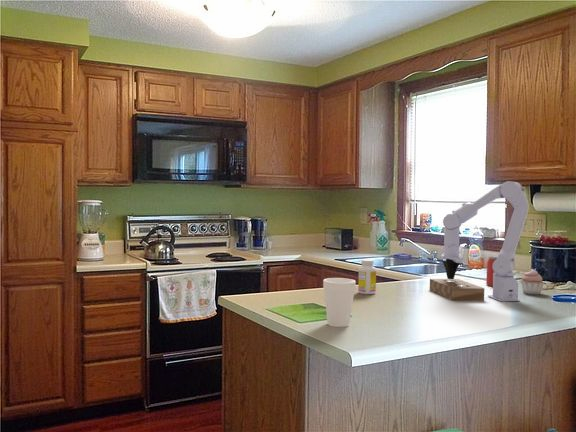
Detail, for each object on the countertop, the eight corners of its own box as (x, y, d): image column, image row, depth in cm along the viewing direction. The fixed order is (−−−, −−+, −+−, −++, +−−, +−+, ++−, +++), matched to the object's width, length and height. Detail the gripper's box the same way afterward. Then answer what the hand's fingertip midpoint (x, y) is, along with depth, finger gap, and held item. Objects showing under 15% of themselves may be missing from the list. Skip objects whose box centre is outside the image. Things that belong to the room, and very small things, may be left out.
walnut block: (484, 300, 206) (484, 288, 206) (453, 300, 204) (453, 288, 204) (457, 289, 228) (457, 278, 228) (429, 289, 226) (429, 278, 226)
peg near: (467, 297, 210) (468, 286, 210) (459, 297, 209) (459, 286, 209) (463, 295, 213) (464, 284, 213) (455, 295, 213) (455, 284, 213)
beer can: (504, 287, 237) (506, 259, 236) (489, 287, 237) (490, 258, 236) (499, 284, 243) (500, 257, 243) (484, 284, 243) (485, 256, 243)
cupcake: (521, 290, 229) (522, 266, 229) (546, 293, 224) (547, 268, 224) (516, 293, 222) (517, 268, 221) (541, 296, 217) (542, 271, 216)
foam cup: (352, 320, 169) (353, 278, 169) (356, 328, 160) (358, 283, 159) (320, 320, 169) (321, 277, 168) (323, 328, 160) (325, 282, 159)
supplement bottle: (375, 291, 219) (375, 259, 219) (376, 295, 213) (376, 261, 212) (357, 291, 220) (358, 258, 219) (358, 294, 213) (359, 260, 213)
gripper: (434, 242, 227) (433, 276, 227) (449, 246, 213) (448, 281, 213) (450, 242, 228) (450, 276, 228) (467, 246, 214) (466, 281, 214)
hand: (450, 278), depth 221 cm, fingers closed
